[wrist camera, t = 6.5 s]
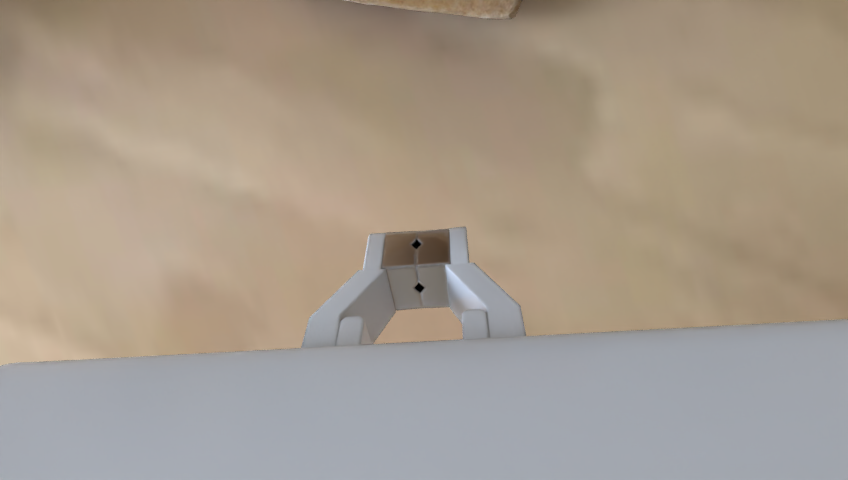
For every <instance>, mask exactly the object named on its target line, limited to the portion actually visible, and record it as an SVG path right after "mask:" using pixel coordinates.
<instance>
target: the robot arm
mask: <svg viewBox="0 0 848 480" xmlns="http://www.w3.org/2000/svg"><path fill="white" fill-rule="evenodd" d="M449 231H450V232H449ZM441 307H450V309H451V310H452V311H453V313H454V314H455V315H456V317H457V318H458V319H459V321H460V322H461V323H462V328H463V339H461V340H441V341H423V342H404V343H386V344H373V343H374V342H375V340H376V339H377V338H378V336H379V335H380V333H381V332H382V331H383V329H384V328H385V326H386V325H387V324H388V322H389V321H390V319H391V318H392V317H393V315H394V314H395V312H396V310H406V309H418V308H441ZM0 480H848V319H838V320H819V321H800V322H782V323H763V324H744V325H725V326H706V327H687V328H669V329H650V330H631V331H612V332H593V333H574V334H556V335H539V336H526V333H525V328H524V322H523V317H522V312H521V307H520V305H519V304H518V303H517V302H516V301H515V300H513V299H512V298H511V297H510V296H509V295H508V294H507V293H506V292H505V291H504V290H503V289H502V288H501V287H500V286H498V285H497V284H496V283H495V282H494V281H493V280H492V279H491V278H490V277H489V276H488V275H487V274H486V273H485V272H483V271H482V270H481V269H480V268H479V267H478V266H477V265H476V264H475V263H469V253H468V241H467V230H466V227H456V228H450V230H449V229H437V230H425V231H408V232H388V233H374V234H370V235H369V237H368V243H367V248H366V254H365V260H364V266H363V270H358V271H357V272H356V273H355V274H354V275H353V276H352V277H351V278H350V279H349V280H348V281H347V282H346V283H345V284H344V285H343V286H342V287H341V288H340V289H339V290H338V291H337V292H336V293H335V294H333V295H332V296H331V297H330V298H329V299H328V300H327V301H326V302H325V303H324V304H323V305H322V306H321V307H320V308H319V309H318V310H317V311H316V312H315V313H314V314H313V315H312V316H311V317H310V318H309V321H308V325H307V328H306V332H305V336H304V339H303V343H302V347H301V348H292V349H273V350H254V351H235V352H217V353H197V354H178V355H159V356H140V357H121V358H102V359H83V360H63V361H44V362H19V363H9V364H5V365H1V366H0Z"/></svg>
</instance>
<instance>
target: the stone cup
mask: <svg viewBox="0 0 848 480" xmlns="http://www.w3.org/2000/svg"><path fill="white" fill-rule="evenodd" d="M344 1H350V2H355V3H361V4H368V5H379V6H387V7H393V8H399V9H406V10H413V11H423V12H434V13H444V14H453V15H462V16H470V17H477V18H485V19H512V18H514V17H515V16H516V14H517V12H518V9H519V7H520V4H521V2H522V0H344Z"/></svg>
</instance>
